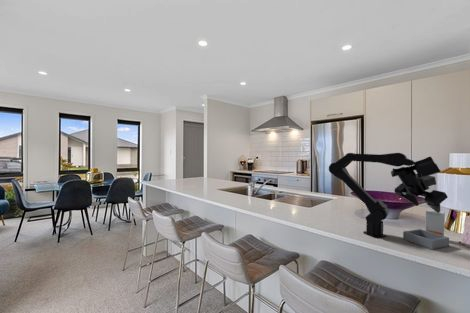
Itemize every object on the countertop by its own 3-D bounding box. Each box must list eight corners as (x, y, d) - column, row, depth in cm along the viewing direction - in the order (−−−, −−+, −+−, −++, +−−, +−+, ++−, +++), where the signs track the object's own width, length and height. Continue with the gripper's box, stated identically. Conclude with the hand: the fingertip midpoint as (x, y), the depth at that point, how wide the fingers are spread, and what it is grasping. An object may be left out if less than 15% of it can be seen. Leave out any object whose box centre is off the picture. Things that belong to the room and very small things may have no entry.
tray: (431, 249, 83) (432, 240, 83) (403, 239, 93) (403, 231, 93) (448, 246, 86) (449, 237, 86) (419, 236, 96) (419, 228, 96)
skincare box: (424, 238, 95) (425, 210, 94) (425, 235, 98) (426, 209, 97) (444, 242, 90) (444, 213, 90) (444, 239, 93) (445, 211, 93)
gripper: (448, 171, 82) (467, 203, 84) (404, 165, 100) (421, 191, 102) (426, 189, 81) (445, 221, 83) (386, 180, 100) (403, 206, 102)
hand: (427, 208), depth 93 cm, fingers open, 9 cm apart
